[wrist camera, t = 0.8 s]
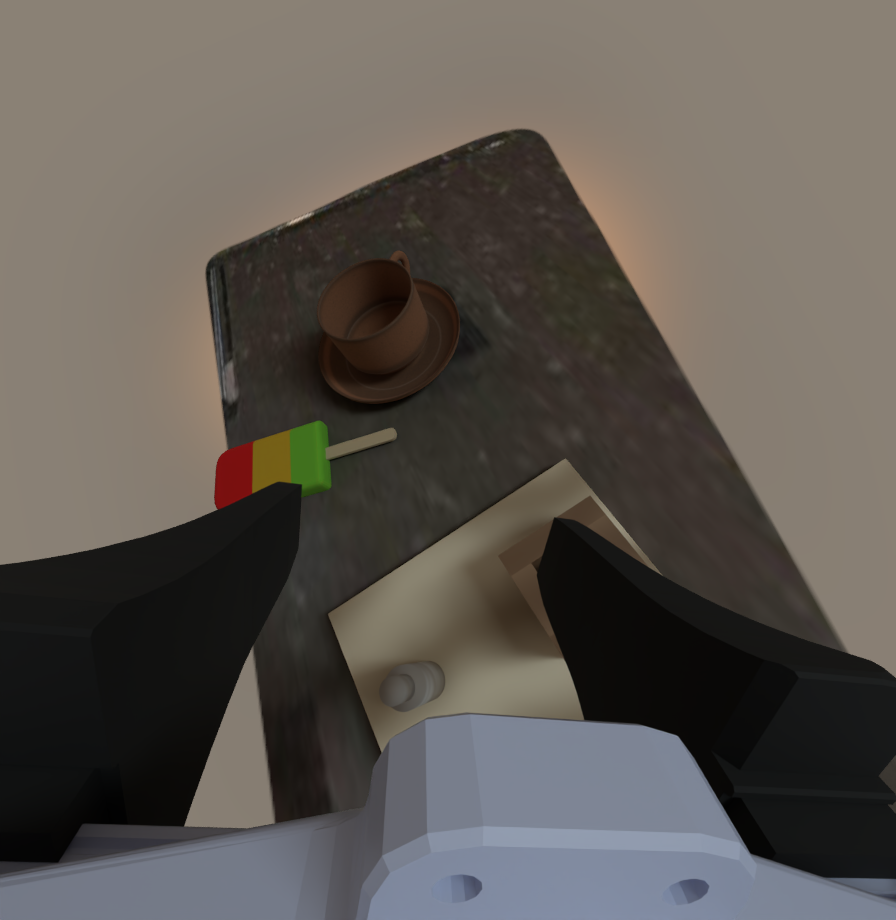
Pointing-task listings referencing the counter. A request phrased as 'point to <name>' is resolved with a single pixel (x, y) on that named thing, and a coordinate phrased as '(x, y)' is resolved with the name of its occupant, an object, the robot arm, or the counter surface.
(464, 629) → the fitting board
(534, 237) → the counter surface
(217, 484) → the popsicle
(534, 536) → the collar
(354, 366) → the cup and saucer
